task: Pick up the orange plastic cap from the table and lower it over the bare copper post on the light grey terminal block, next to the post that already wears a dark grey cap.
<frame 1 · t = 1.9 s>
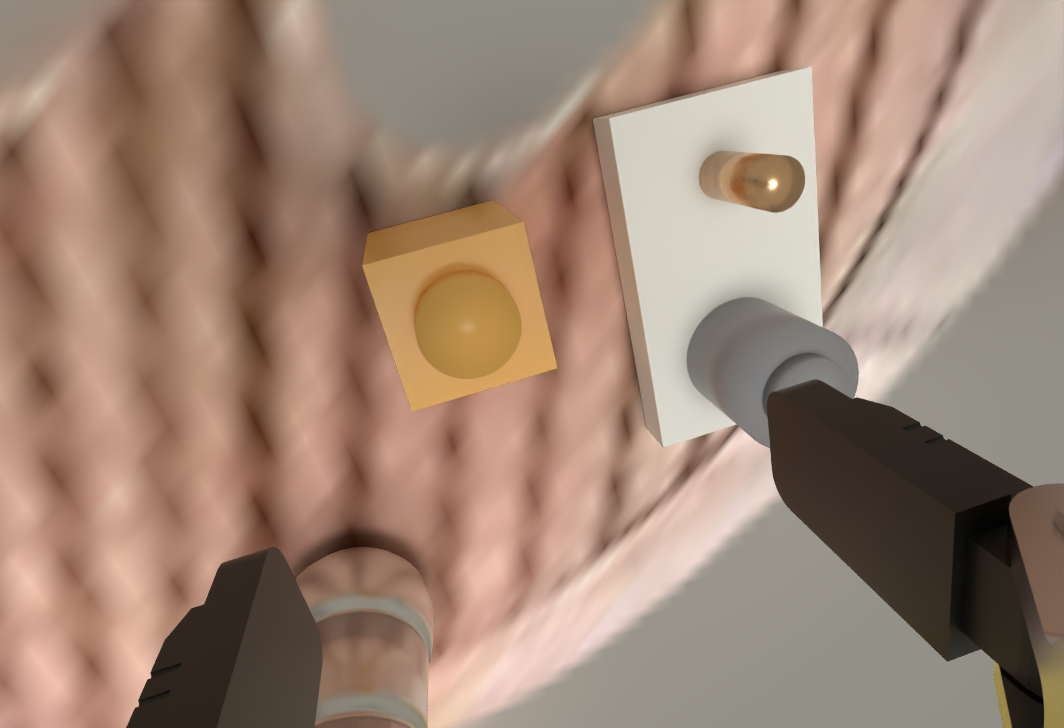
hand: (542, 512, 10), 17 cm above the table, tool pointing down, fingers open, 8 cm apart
plastic bottle: (359, 582, 30), on the table
terminal block: (707, 264, 27), on the table
copper post: (697, 171, 26), resting on terminal block
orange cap: (448, 277, 25), on the table
capped post: (716, 337, 29), resting on terminal block
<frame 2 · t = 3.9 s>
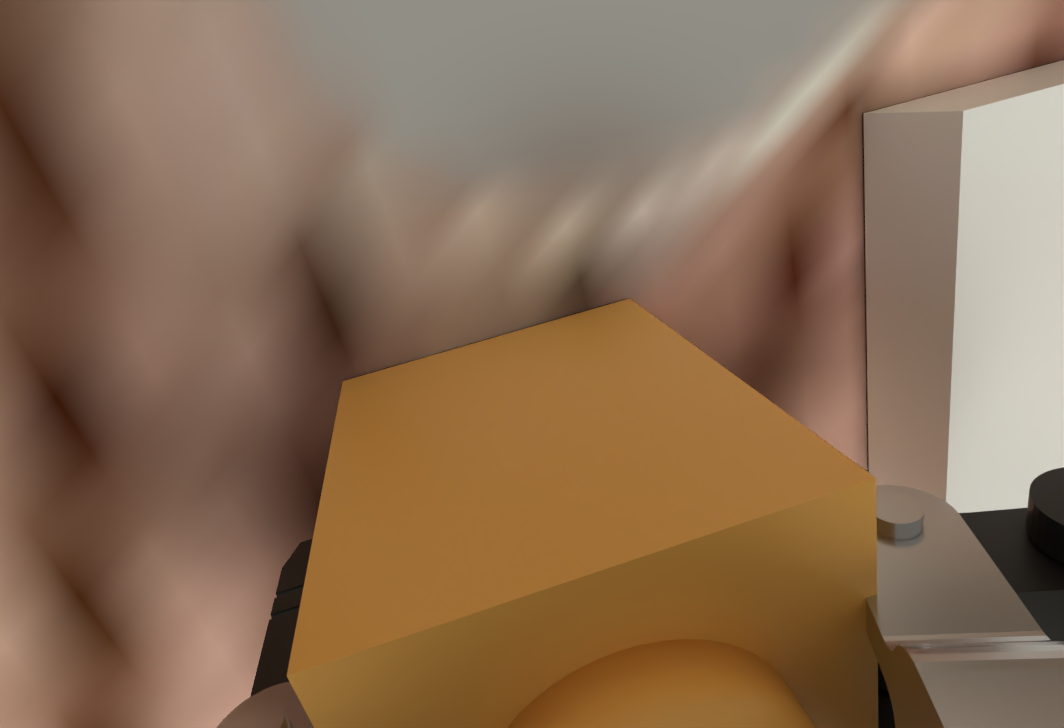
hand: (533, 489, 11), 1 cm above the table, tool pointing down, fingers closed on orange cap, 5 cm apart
terminal block: (1034, 407, 14), on the table
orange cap: (523, 463, 12), on the table, touching gripper
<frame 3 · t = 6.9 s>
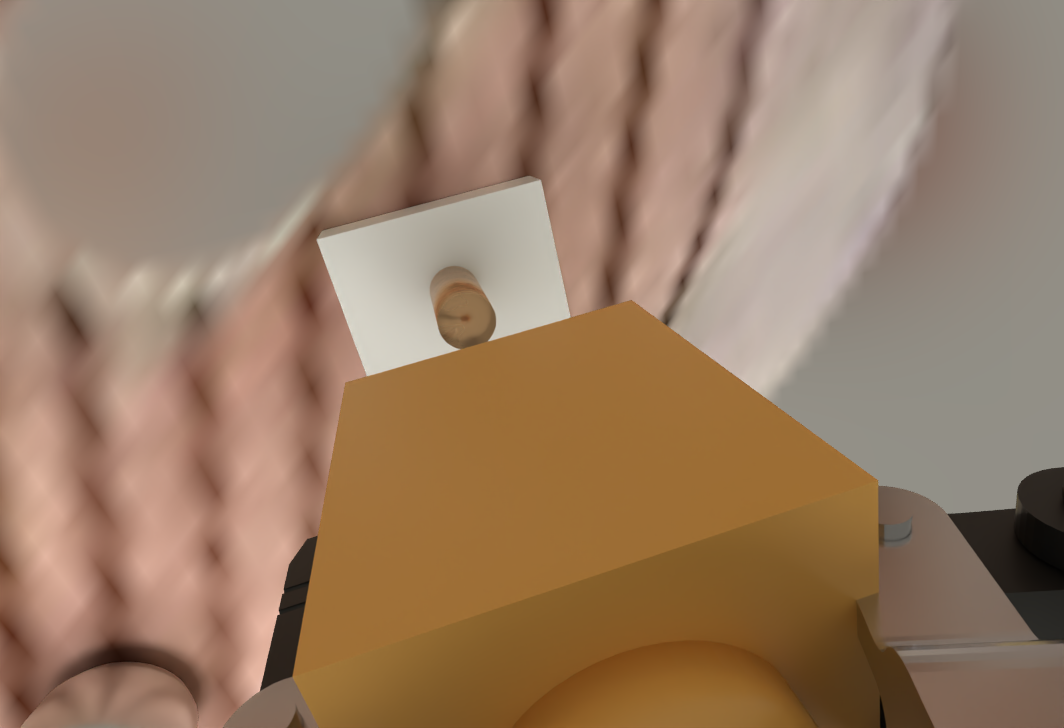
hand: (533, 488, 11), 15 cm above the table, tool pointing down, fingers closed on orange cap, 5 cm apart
plastic bottle: (132, 692, 29), on the table
terminal block: (475, 368, 26), on the table
copper post: (449, 278, 25), resting on terminal block
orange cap: (525, 464, 12), point 15 cm above the table, touching gripper
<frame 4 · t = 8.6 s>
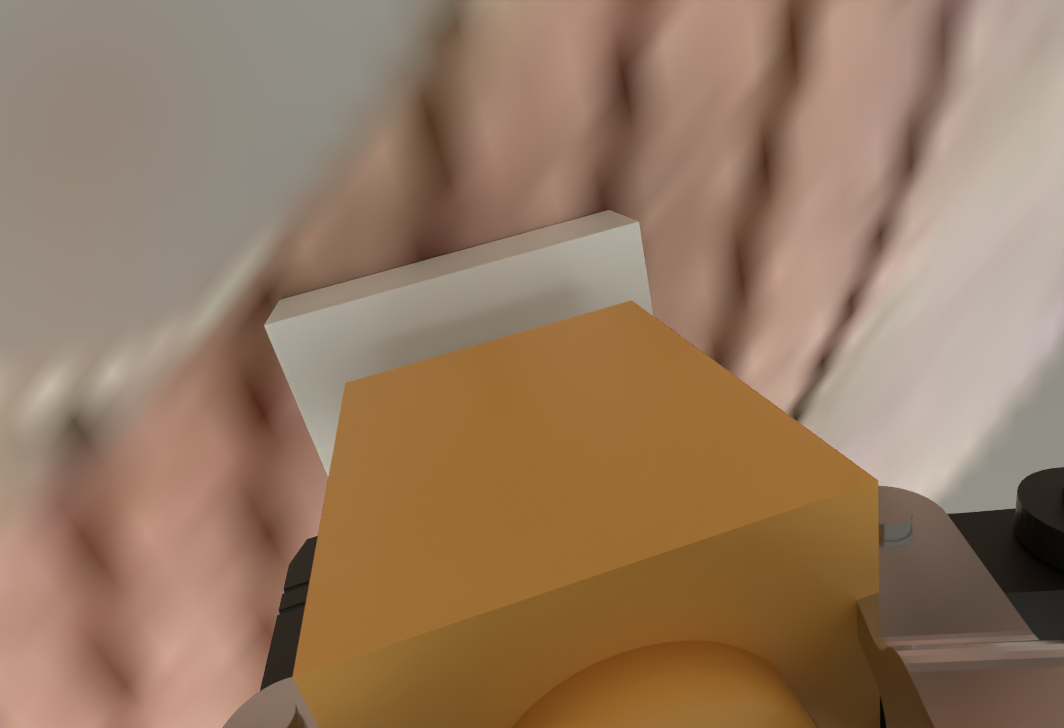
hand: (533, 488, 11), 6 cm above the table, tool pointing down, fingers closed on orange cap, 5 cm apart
terminal block: (517, 495, 18), on the table
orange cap: (525, 464, 12), point 5 cm above the table, touching gripper
when the fingers open (4 cm above the table, at t = 9.8 s): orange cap stays where it is, resting on terminal block.
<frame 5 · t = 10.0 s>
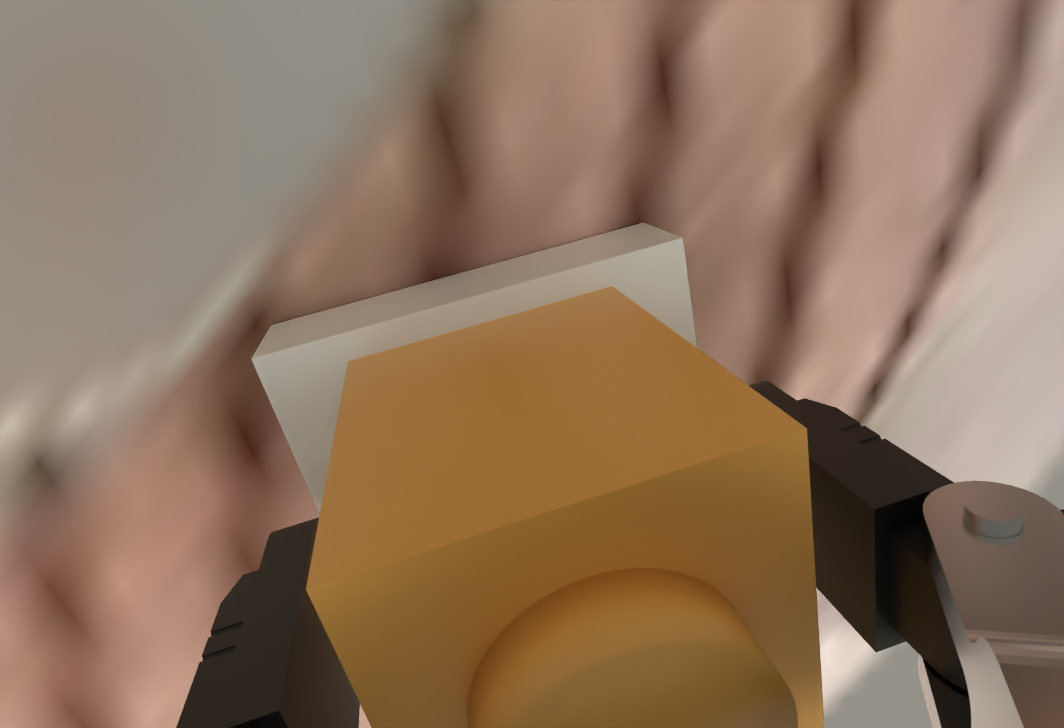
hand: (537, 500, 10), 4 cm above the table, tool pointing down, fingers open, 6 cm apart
terminal block: (536, 537, 16), on the table
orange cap: (514, 439, 12), point 2 cm above the table, touching terminal block
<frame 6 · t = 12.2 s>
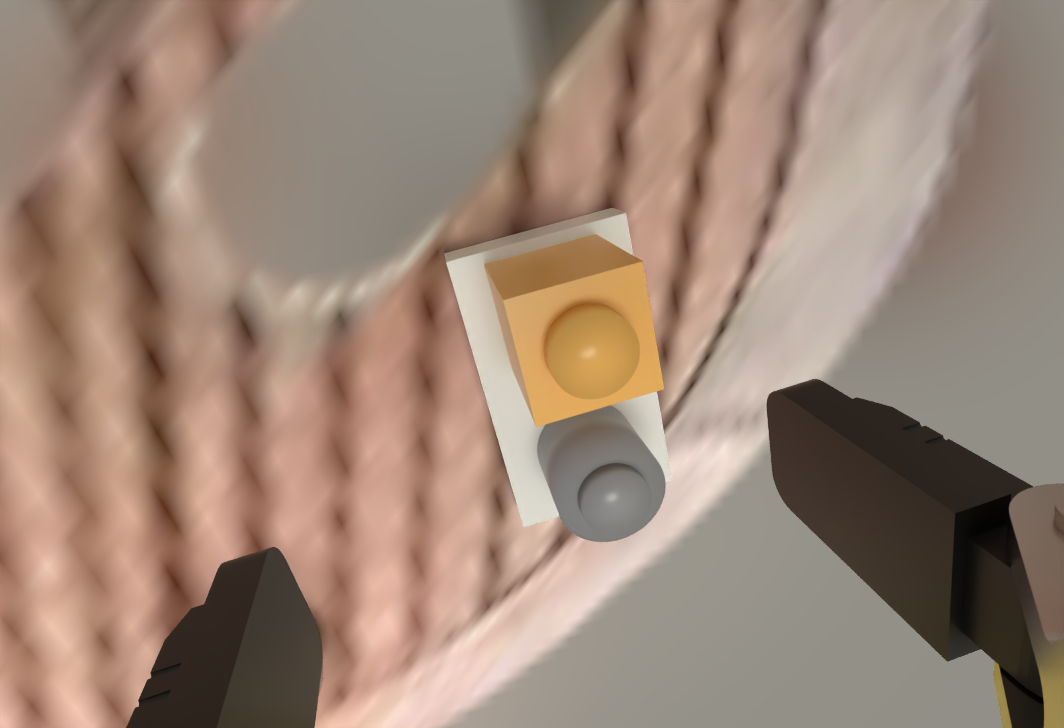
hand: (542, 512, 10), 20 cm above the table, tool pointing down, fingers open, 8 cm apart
terminal block: (561, 367, 31), on the table
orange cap: (552, 303, 28), point 2 cm above the table, touching terminal block
capped post: (575, 427, 33), resting on terminal block
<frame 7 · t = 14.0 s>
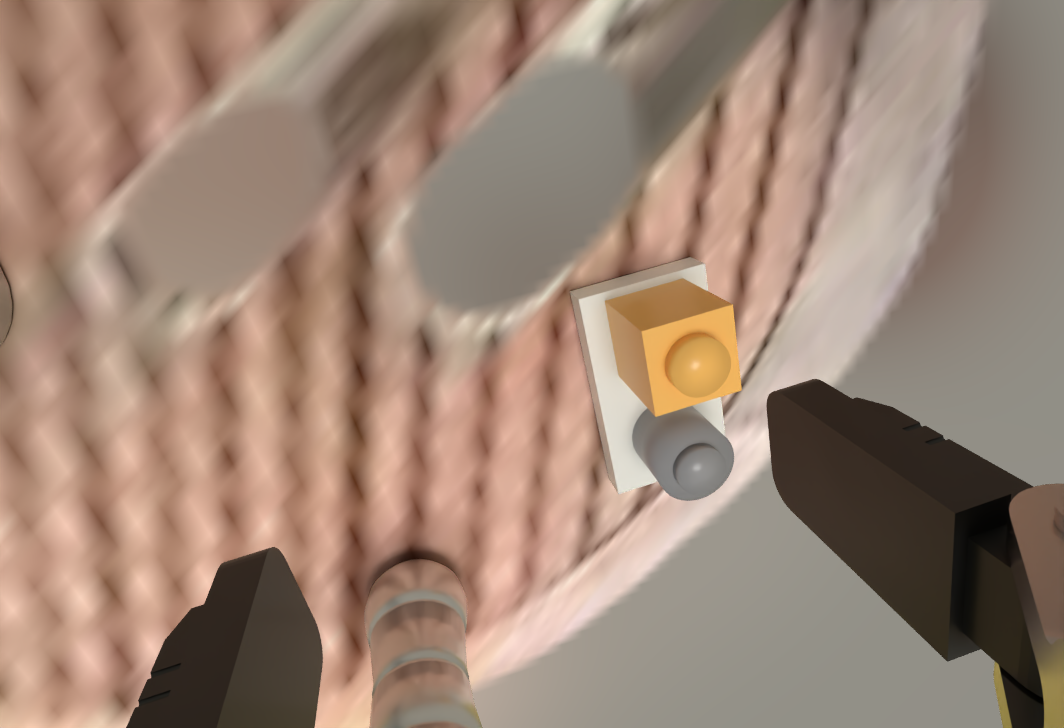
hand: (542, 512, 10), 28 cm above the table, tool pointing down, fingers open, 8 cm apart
plastic bottle: (415, 582, 44), on the table
terminal block: (647, 374, 42), on the table
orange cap: (650, 328, 38), point 2 cm above the table, touching terminal block
capped post: (655, 419, 43), resting on terminal block
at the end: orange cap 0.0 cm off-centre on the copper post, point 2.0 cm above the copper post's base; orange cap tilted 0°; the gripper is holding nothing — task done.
